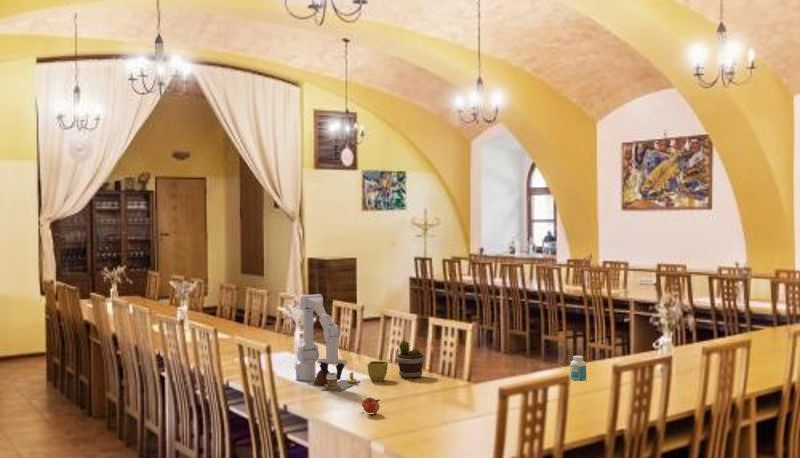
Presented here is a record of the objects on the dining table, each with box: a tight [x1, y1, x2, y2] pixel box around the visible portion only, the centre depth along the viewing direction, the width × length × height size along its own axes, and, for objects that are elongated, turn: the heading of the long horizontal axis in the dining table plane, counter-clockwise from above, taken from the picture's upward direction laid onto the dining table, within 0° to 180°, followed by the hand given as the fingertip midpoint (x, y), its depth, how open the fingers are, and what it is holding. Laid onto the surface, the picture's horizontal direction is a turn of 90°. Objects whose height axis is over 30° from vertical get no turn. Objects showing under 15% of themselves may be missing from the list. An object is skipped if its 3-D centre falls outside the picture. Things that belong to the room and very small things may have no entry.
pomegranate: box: [360, 397, 381, 416], centre depth 330 cm, size 7×7×10 cm
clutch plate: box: [326, 372, 337, 380], centre depth 382 cm, size 6×6×2 cm
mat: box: [321, 379, 361, 393], centre depth 388 cm, size 10×24×1 cm, turn 161°
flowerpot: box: [395, 338, 426, 380], centre depth 407 cm, size 14×15×20 cm
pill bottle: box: [569, 355, 587, 381], centre depth 385 cm, size 8×7×14 cm
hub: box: [346, 371, 357, 384], centre depth 393 cm, size 5×5×5 cm
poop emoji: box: [313, 368, 331, 387], centre depth 393 cm, size 10×8×9 cm
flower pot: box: [366, 360, 389, 382], centre depth 400 cm, size 9×9×9 cm
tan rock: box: [324, 379, 340, 389], centre depth 382 cm, size 7×7×6 cm
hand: (332, 379), depth 382 cm, fingers open, 6 cm apart
